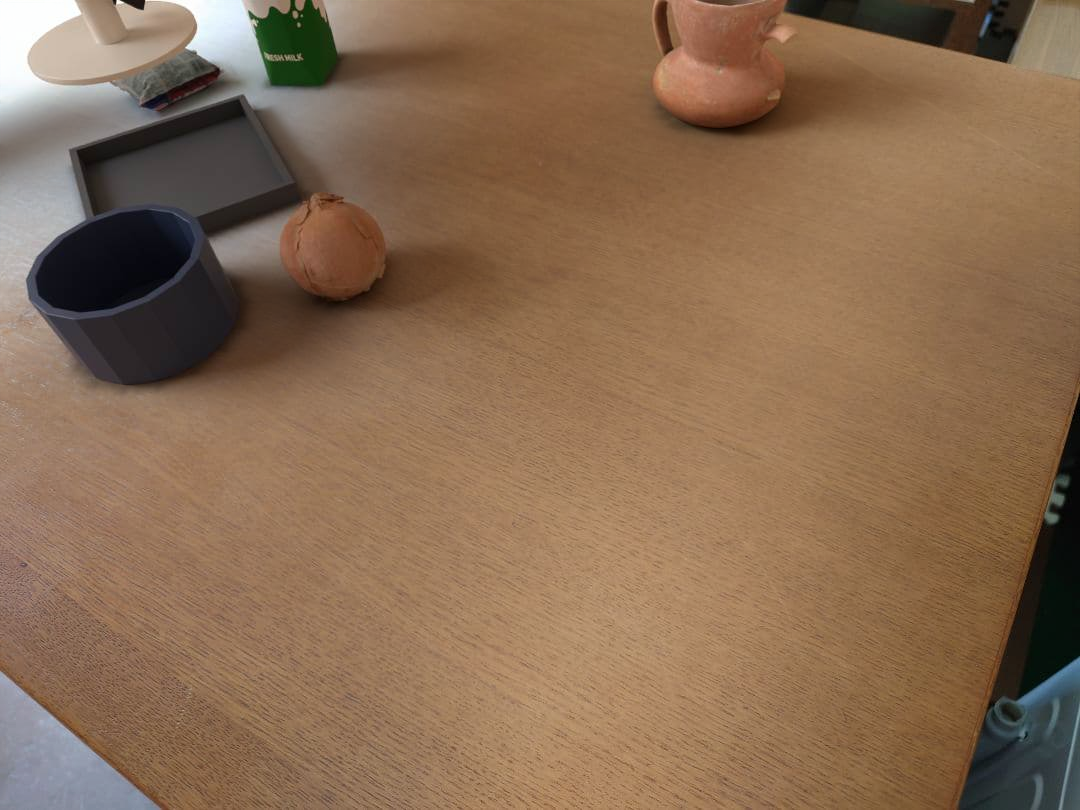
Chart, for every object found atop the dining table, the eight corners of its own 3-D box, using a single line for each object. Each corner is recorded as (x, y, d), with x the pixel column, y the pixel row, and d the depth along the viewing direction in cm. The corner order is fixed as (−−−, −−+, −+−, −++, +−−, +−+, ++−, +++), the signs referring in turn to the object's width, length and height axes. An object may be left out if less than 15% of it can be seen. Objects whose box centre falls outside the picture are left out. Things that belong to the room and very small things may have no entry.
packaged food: (118, 100, 100) (99, 63, 96) (200, 63, 105) (185, 27, 101) (149, 124, 96) (130, 87, 92) (233, 86, 101) (218, 48, 97)
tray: (80, 168, 91) (68, 149, 89) (251, 113, 96) (243, 93, 94) (107, 273, 78) (94, 252, 76) (302, 202, 83) (294, 182, 81)
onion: (342, 285, 79) (313, 186, 75) (417, 282, 75) (390, 176, 70) (276, 318, 72) (240, 210, 67) (355, 317, 67) (321, 201, 63)
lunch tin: (71, 310, 75) (19, 241, 68) (219, 256, 79) (183, 185, 72) (92, 411, 66) (35, 343, 60) (257, 345, 70) (220, 274, 63)
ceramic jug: (816, 107, 88) (845, -26, 77) (731, 162, 82) (749, 27, 71) (695, 55, 97) (706, -70, 86) (612, 102, 91) (612, -26, 80)
